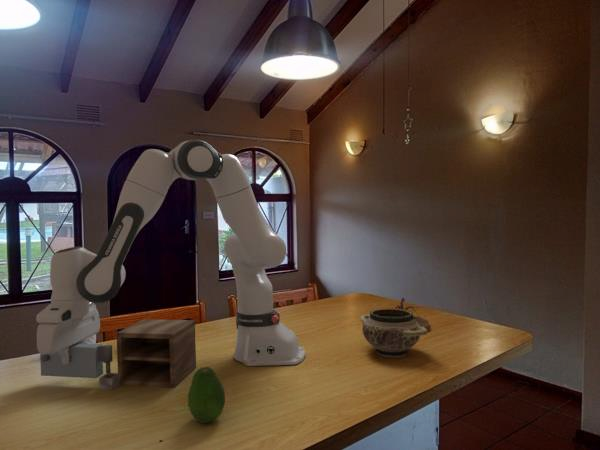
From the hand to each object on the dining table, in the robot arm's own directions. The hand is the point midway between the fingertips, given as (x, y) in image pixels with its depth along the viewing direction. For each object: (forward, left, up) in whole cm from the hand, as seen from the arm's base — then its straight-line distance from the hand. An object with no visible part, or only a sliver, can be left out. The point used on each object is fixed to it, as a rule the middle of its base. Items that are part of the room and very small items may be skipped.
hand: (72, 360), depth 115 cm
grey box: (-2, +1, -4) cm, 4 cm away
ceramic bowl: (-85, -35, -7) cm, 92 cm away
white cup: (+15, -26, -7) cm, 31 cm away
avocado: (-43, +14, -7) cm, 46 cm away
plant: (-91, -65, -8) cm, 112 cm away
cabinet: (-18, -7, -7) cm, 21 cm away
